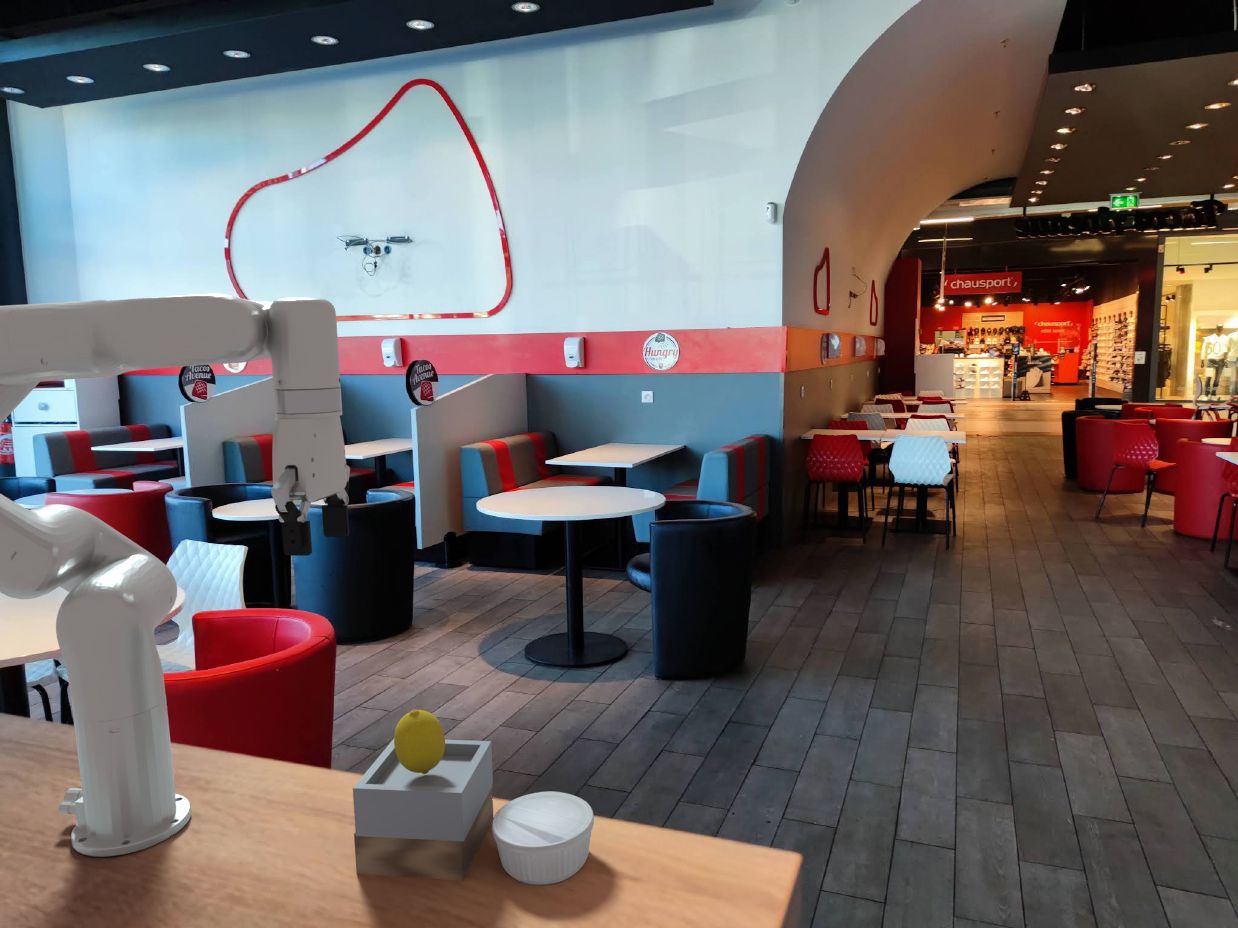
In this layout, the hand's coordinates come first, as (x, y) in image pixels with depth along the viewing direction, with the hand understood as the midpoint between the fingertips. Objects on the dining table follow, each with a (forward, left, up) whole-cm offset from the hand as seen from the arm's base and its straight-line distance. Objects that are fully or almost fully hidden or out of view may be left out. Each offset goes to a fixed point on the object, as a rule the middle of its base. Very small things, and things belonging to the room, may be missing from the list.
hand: (318, 545), depth 104 cm
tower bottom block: (+15, -8, -34) cm, 38 cm away
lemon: (+15, -8, -25) cm, 30 cm away
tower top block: (+15, -8, -29) cm, 34 cm away
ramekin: (+29, -9, -34) cm, 45 cm away
